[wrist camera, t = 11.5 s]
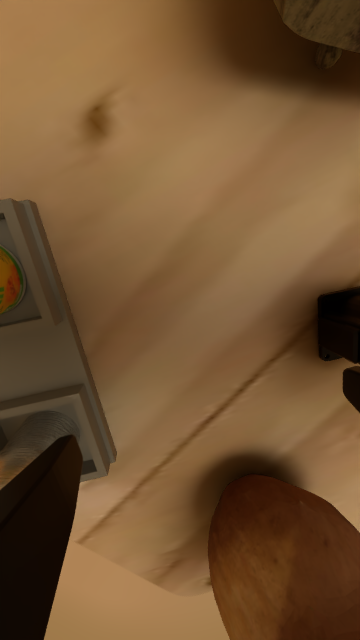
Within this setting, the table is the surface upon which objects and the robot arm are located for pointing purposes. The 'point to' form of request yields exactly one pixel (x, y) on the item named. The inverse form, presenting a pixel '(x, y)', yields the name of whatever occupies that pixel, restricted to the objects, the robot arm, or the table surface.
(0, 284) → the supplement bottle
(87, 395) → the two-slot holder tray
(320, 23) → the tabletop clock
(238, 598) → the butternut squash
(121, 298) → the table surface
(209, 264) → the table surface
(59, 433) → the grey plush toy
